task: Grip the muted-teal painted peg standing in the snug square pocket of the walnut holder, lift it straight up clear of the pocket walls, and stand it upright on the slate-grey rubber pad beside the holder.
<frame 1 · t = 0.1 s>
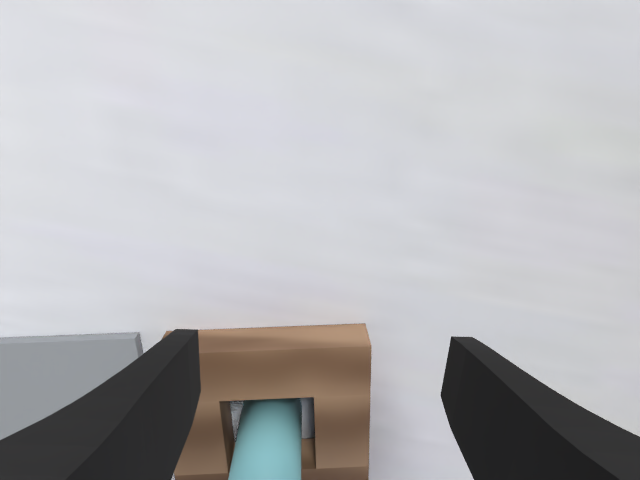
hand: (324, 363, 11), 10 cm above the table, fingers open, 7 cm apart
pad: (65, 402, 24), on the table
peg: (272, 407, 24), resting in holder
holder: (272, 407, 24), on the table
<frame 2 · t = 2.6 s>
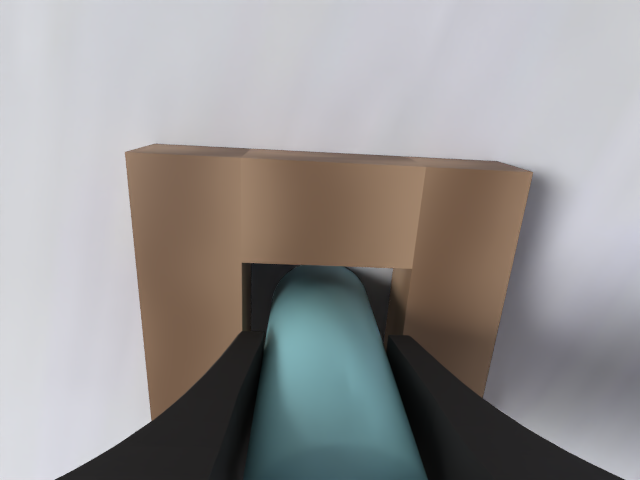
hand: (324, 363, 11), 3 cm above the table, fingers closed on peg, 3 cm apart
peg: (319, 306, 15), resting in holder, touching gripper
holder: (320, 306, 15), on the table
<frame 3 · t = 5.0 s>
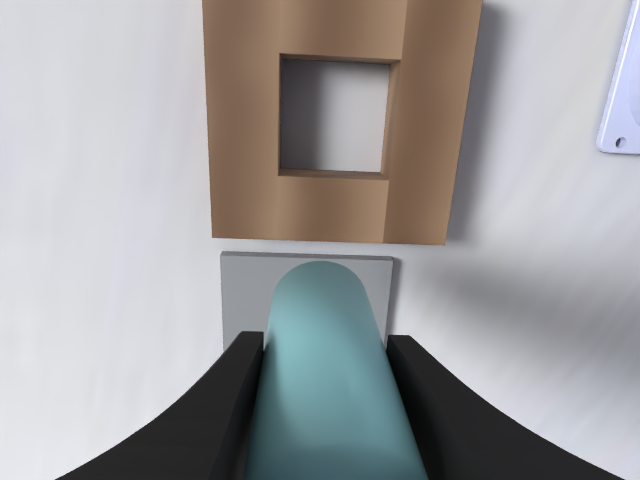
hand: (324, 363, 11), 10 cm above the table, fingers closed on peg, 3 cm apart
pad: (304, 335, 23), on the table
peg: (319, 305, 15), point 7 cm above the table, touching gripper
holder: (333, 118, 19), on the table
when the fingers open (5 cm above the table, at t = 7.6 s): peg stays where it is, resting on pad.
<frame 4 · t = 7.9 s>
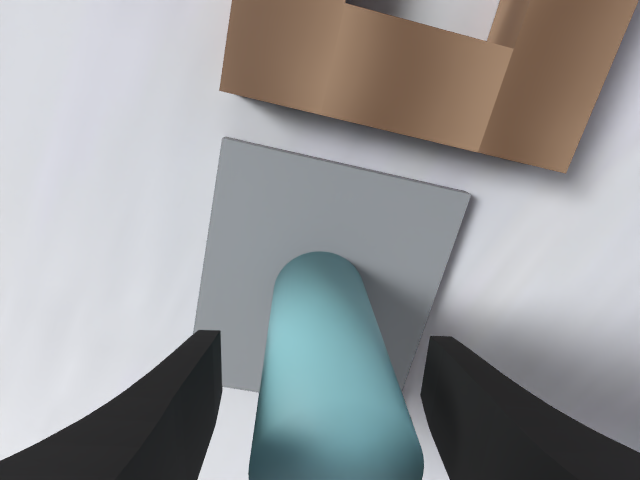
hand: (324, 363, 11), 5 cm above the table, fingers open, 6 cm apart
pad: (318, 287, 16), on the table
peg: (318, 293, 16), point 1 cm above the table, touching pad
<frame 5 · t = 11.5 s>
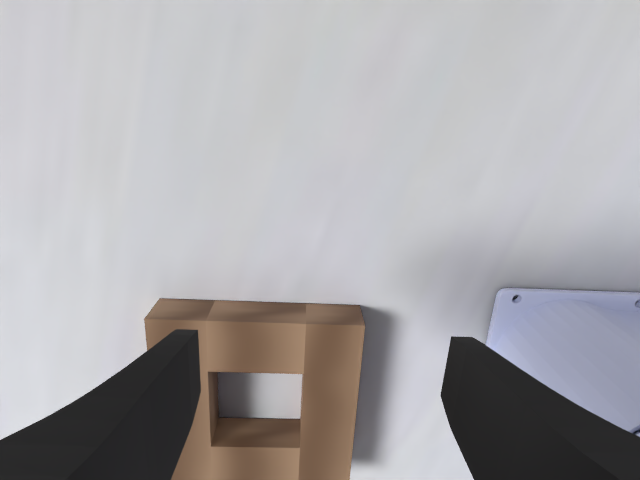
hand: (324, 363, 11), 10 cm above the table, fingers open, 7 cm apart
holder: (260, 384, 24), on the table
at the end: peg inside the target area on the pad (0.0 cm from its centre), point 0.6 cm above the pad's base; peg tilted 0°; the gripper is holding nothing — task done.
